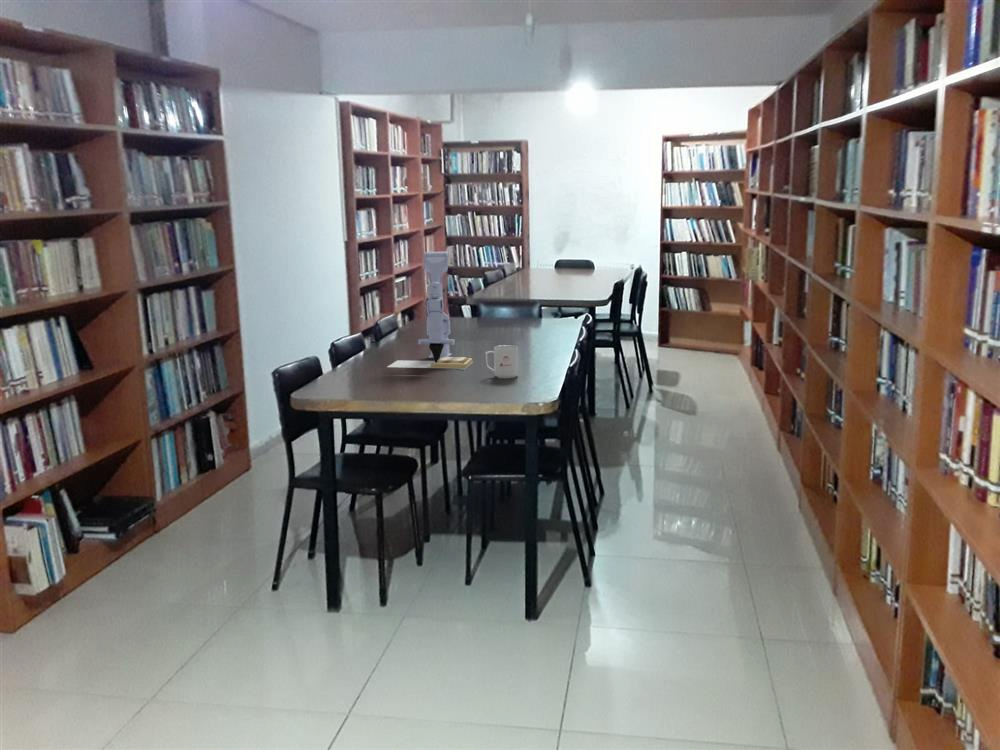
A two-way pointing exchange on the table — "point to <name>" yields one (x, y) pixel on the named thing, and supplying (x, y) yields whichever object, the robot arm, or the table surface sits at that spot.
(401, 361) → the board
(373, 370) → the table surface
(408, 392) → the table surface
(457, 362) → the beige flat block
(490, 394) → the table surface
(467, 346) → the table surface
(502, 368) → the mug
